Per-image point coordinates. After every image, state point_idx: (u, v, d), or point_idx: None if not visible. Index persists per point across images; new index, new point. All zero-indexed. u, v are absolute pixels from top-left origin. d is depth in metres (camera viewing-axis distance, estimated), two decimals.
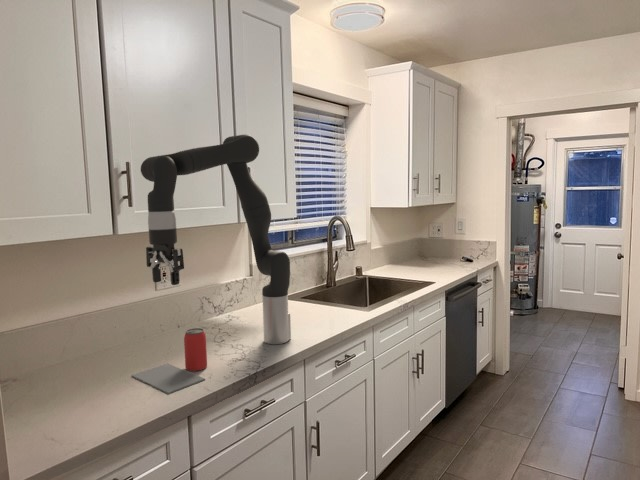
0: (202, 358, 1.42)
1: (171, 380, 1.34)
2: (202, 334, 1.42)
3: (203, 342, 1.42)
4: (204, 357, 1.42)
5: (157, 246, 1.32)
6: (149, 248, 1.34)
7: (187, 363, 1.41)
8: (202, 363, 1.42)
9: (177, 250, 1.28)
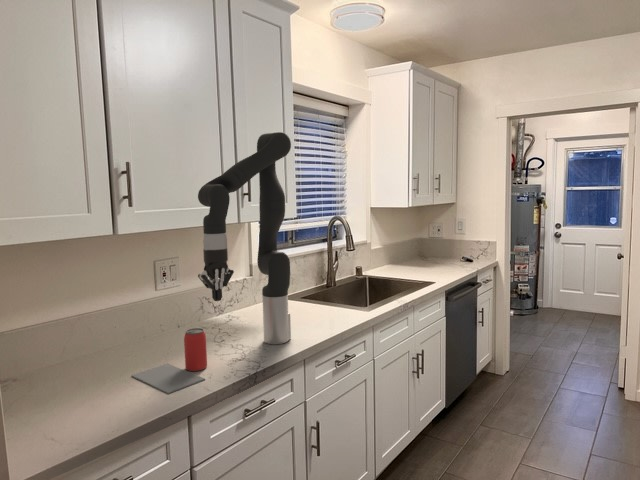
0: (202, 358, 1.42)
1: (171, 380, 1.34)
2: (202, 334, 1.42)
3: (203, 342, 1.42)
4: (204, 357, 1.42)
5: (214, 265, 1.46)
6: (204, 275, 1.43)
7: (187, 363, 1.41)
8: (202, 363, 1.42)
9: None
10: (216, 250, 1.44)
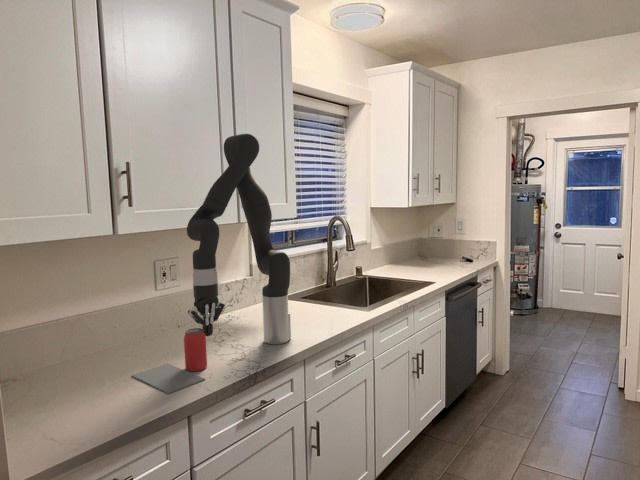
0: (202, 358, 1.42)
1: (171, 380, 1.34)
2: (202, 334, 1.42)
3: (203, 342, 1.42)
4: (204, 357, 1.42)
5: (204, 300, 1.44)
6: (194, 311, 1.41)
7: (187, 363, 1.41)
8: (202, 363, 1.42)
9: None
10: (206, 286, 1.41)
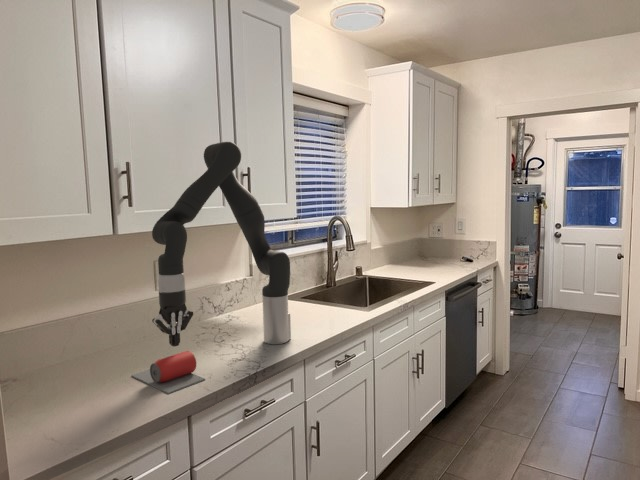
0: (185, 372, 1.35)
1: (171, 380, 1.34)
2: (162, 377, 1.30)
3: (171, 376, 1.32)
4: (186, 370, 1.35)
5: (171, 308, 1.35)
6: (158, 319, 1.32)
7: None
8: (189, 371, 1.37)
9: None
10: (172, 293, 1.32)
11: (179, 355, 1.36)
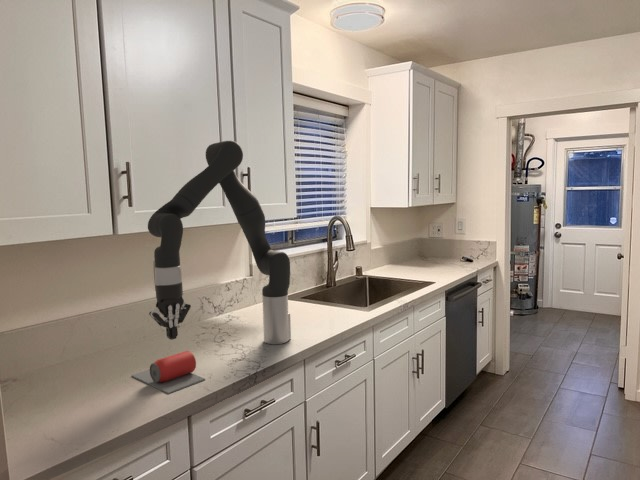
0: (185, 372, 1.36)
1: (171, 380, 1.34)
2: (162, 377, 1.30)
3: (170, 375, 1.32)
4: (185, 370, 1.35)
5: (167, 301, 1.34)
6: (155, 312, 1.31)
7: None
8: (189, 371, 1.37)
9: None
10: (168, 285, 1.31)
11: (178, 355, 1.36)
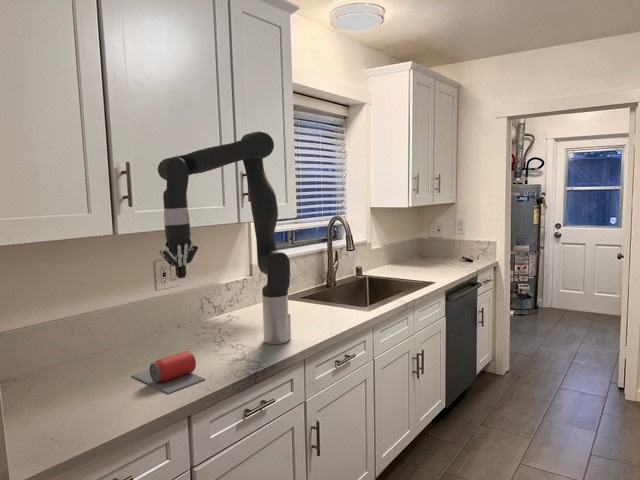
0: (185, 372, 1.36)
1: (171, 380, 1.34)
2: (162, 376, 1.30)
3: (170, 375, 1.32)
4: (185, 370, 1.35)
5: (176, 240, 1.42)
6: None
7: None
8: (189, 371, 1.37)
9: None
10: (177, 225, 1.39)
11: (178, 355, 1.36)
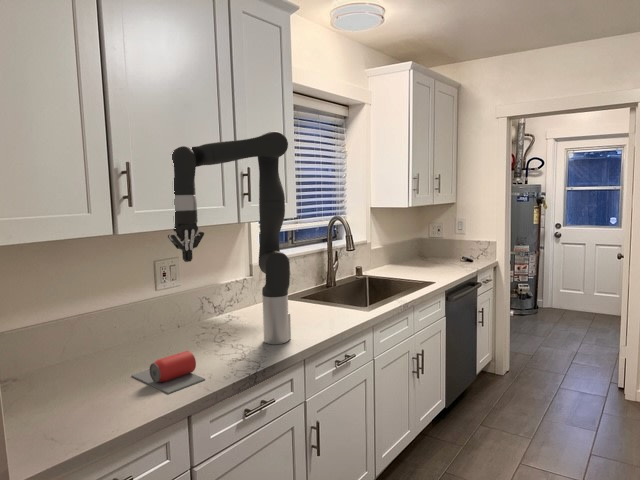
0: (185, 372, 1.36)
1: (171, 380, 1.34)
2: (162, 376, 1.30)
3: (170, 375, 1.32)
4: (185, 370, 1.35)
5: (184, 226, 1.49)
6: None
7: None
8: (189, 371, 1.37)
9: None
10: (185, 211, 1.47)
11: (178, 355, 1.36)
